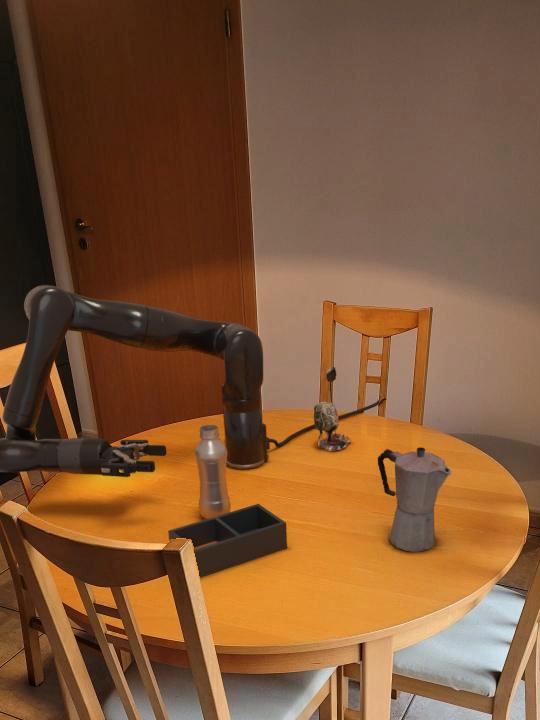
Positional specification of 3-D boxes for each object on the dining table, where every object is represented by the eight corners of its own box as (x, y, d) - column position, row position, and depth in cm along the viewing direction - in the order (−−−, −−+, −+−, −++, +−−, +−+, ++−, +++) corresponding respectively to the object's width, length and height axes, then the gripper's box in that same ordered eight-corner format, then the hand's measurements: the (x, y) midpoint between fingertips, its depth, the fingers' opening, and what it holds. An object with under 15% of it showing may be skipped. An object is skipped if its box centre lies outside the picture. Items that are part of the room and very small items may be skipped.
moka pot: (437, 561, 148) (443, 463, 139) (363, 542, 155) (364, 447, 146) (456, 540, 155) (463, 445, 146) (384, 523, 162) (387, 431, 153)
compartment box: (170, 556, 152) (168, 530, 150) (259, 528, 162) (258, 503, 159) (195, 579, 144) (192, 552, 142) (287, 548, 154) (286, 522, 151)
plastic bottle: (199, 511, 170) (192, 423, 161) (231, 509, 170) (225, 421, 161) (199, 525, 164) (191, 434, 155) (231, 522, 164) (225, 432, 155)
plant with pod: (304, 447, 201) (302, 370, 192) (337, 436, 207) (337, 361, 198) (324, 456, 195) (324, 377, 186) (358, 445, 201) (359, 368, 192)
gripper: (69, 452, 156) (148, 454, 154) (94, 427, 169) (167, 429, 167) (74, 487, 160) (152, 489, 158) (98, 459, 172) (171, 461, 170)
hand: (160, 458), depth 162 cm, fingers open, 8 cm apart
